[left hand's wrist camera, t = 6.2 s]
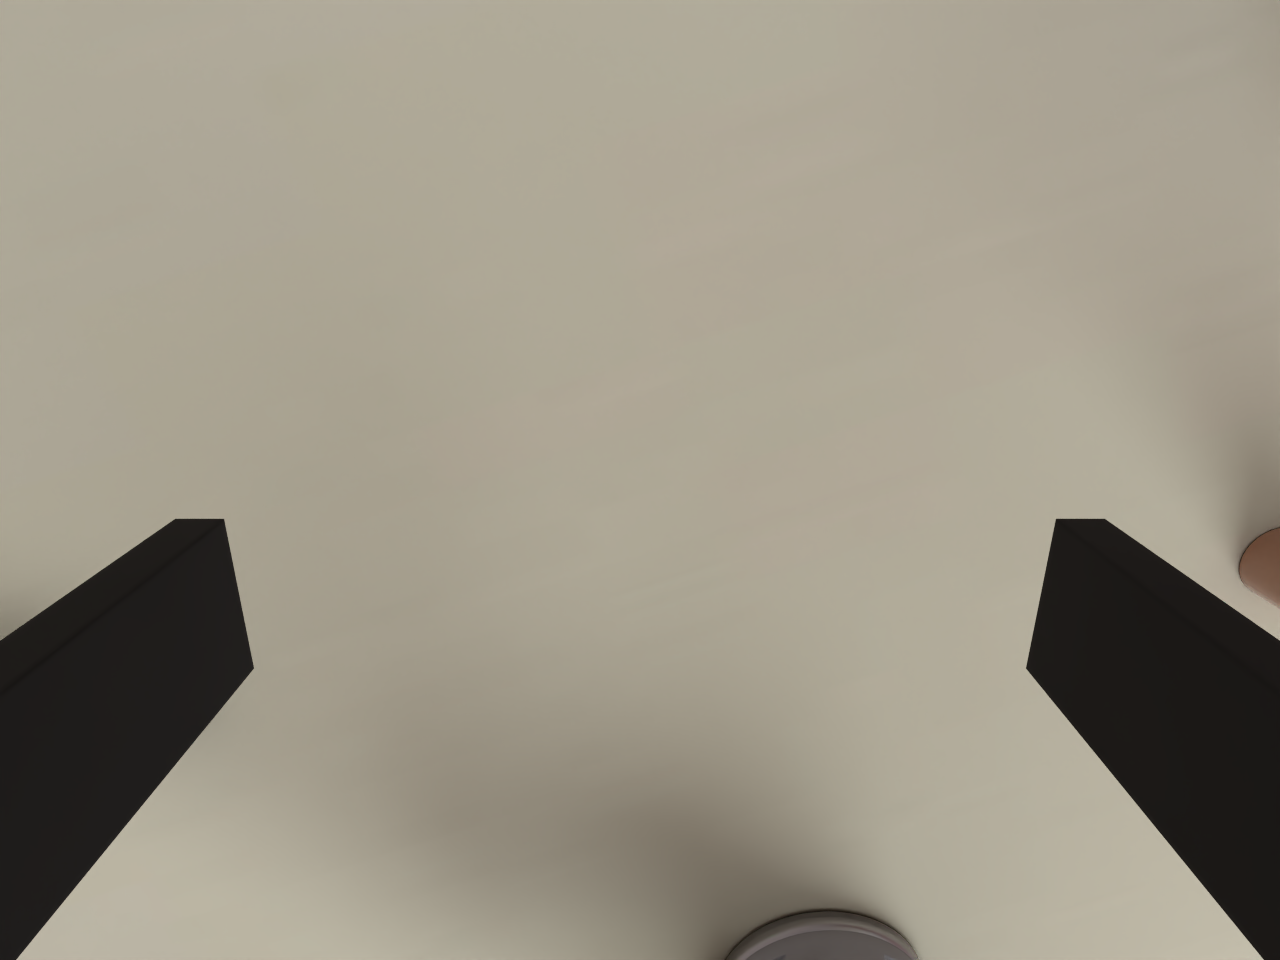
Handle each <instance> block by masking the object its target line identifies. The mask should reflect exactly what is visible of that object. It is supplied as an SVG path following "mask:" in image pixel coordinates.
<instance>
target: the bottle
mask: <svg viewBox="0 0 1280 960" xmlns="http://www.w3.org/2000/svg"><path fill="white" fill-rule="evenodd" d="M1239 573H1240V577H1241V580H1242V582H1243V583H1244V585H1245V586H1246V587H1247V588H1248V589H1249V590H1251V591H1252V592H1254V593H1256V594H1257V595H1259V596H1260V597H1262V598H1263V599H1265V600H1266V601H1268V602H1269V603H1271V604H1273V605H1274V606H1276V607H1277V608H1279V609H1280V528H1278V529H1274V530H1271V531H1269V532H1267V533H1265V534H1263V535H1261V536H1260V537H1258V538H1257V539H1256V540H1255V541H1254V542H1252V543H1251V545H1250V546H1249V547H1248V548H1247V549H1246V551H1245V553H1244V554H1243V556H1242V559H1241V562H1240V567H1239Z"/></svg>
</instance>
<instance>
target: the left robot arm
mask: <svg viewBox="0 0 1280 960" xmlns="http://www.w3.org/2000/svg"><path fill="white" fill-rule="evenodd" d="M253 669H254V666H253V661H252V657H251V652H250V647H249V642H248V637H247V632H246V627H245V622H244V617H243V612H242V607H241V602H240V597H239V592H238V587H237V582H236V577H235V572H234V567H233V562H232V557H231V552H230V547H229V542H228V537H227V532H226V527H225V522H224V519H175V520H173V521H172V522H170V523H169V524H167V525H166V526H164V527H163V528H162V529H160V530H159V531H157V532H156V533H154V534H153V535H152V536H150V537H149V538H147V539H146V540H144V541H143V542H141V543H140V544H139V545H137V546H136V547H134V548H133V549H131V550H130V551H129V552H127V553H126V554H124V555H123V556H121V557H120V558H118V559H117V560H116V561H114V562H113V563H111V564H110V565H108V566H107V567H106V568H104V569H103V570H101V571H100V572H98V573H97V574H95V575H94V576H93V577H91V578H90V579H88V580H87V581H85V582H84V583H83V584H81V585H80V586H78V587H77V588H75V589H74V590H73V591H71V592H70V593H68V594H67V595H65V596H64V597H62V598H61V599H60V600H58V601H57V602H55V603H54V604H52V605H51V606H50V607H48V608H47V609H45V610H44V611H42V612H41V613H39V614H38V615H37V616H35V617H34V618H32V619H31V620H29V621H28V622H27V623H25V624H24V625H22V626H21V627H19V628H18V629H16V630H15V631H14V632H12V633H11V634H9V635H8V636H6V637H5V638H4V639H2V640H1V641H0V960H16V959H17V958H18V957H19V955H20V954H21V953H22V952H23V951H24V949H25V948H26V947H27V946H28V944H29V943H30V942H31V941H32V940H33V938H34V937H35V936H36V935H37V933H38V932H39V931H40V930H41V929H42V927H43V926H44V925H45V924H46V922H47V921H48V920H49V919H50V918H51V916H52V915H53V914H54V913H55V911H56V910H57V909H58V908H59V906H60V905H61V904H62V903H63V902H64V900H65V899H66V898H67V897H68V895H69V894H70V893H71V892H72V891H73V889H74V888H75V887H76V886H77V884H78V883H79V882H80V881H81V880H82V878H83V877H84V876H85V875H86V873H87V872H88V871H89V870H90V869H91V867H92V866H93V865H94V864H95V862H96V861H97V860H98V859H99V857H100V856H101V855H102V854H103V853H104V851H105V850H106V849H107V848H108V846H109V845H110V844H111V843H112V842H113V840H114V839H115V838H116V837H117V835H118V834H119V833H120V832H121V831H122V829H123V828H124V827H125V826H126V824H127V823H128V822H129V821H130V820H131V818H132V817H133V816H134V815H135V813H136V812H137V811H138V810H139V809H140V807H141V806H142V805H143V804H144V802H145V801H146V800H147V799H148V797H149V796H150V795H151V794H152V793H153V791H154V790H155V789H156V788H157V786H158V785H159V784H160V783H161V782H162V780H163V779H164V778H165V777H166V775H167V774H168V773H169V772H170V771H171V769H172V768H173V767H174V766H175V764H176V763H177V762H178V761H179V760H180V758H181V757H182V756H183V755H184V753H185V752H186V751H187V750H188V748H189V747H190V746H191V745H192V744H193V742H194V741H195V740H196V739H197V737H198V736H199V735H200V734H201V733H202V731H203V730H204V729H205V728H206V726H207V725H208V724H209V723H210V722H211V720H212V719H213V718H214V717H215V715H216V714H217V713H218V712H219V711H220V709H221V708H222V707H223V706H224V704H225V703H226V702H227V701H228V699H229V698H230V697H231V696H232V695H233V693H234V692H235V691H236V690H237V688H238V687H239V686H240V685H241V684H242V682H243V681H244V680H245V679H246V677H247V676H248V675H249V674H250V673H251V671H252V670H253ZM1026 669H1027V670H1028V671H1029V673H1030V674H1031V675H1032V676H1033V677H1034V679H1035V680H1036V681H1037V682H1038V684H1039V685H1040V686H1041V687H1042V688H1043V690H1044V691H1045V692H1046V693H1047V695H1048V696H1049V697H1050V698H1051V699H1052V701H1053V702H1054V703H1055V704H1056V706H1057V707H1058V708H1059V709H1060V711H1061V712H1062V713H1063V714H1064V715H1065V717H1066V718H1067V719H1068V720H1069V722H1070V723H1071V724H1072V725H1073V726H1074V728H1075V729H1076V730H1077V731H1078V733H1079V734H1080V735H1081V736H1082V737H1083V739H1084V740H1085V741H1086V742H1087V744H1088V745H1089V746H1090V747H1091V748H1092V750H1093V751H1094V752H1095V753H1096V755H1097V756H1098V757H1099V758H1100V760H1101V761H1102V762H1103V763H1104V764H1105V766H1106V767H1107V768H1108V769H1109V771H1110V772H1111V773H1112V774H1113V775H1114V777H1115V778H1116V779H1117V780H1118V782H1119V783H1120V784H1121V785H1122V786H1123V788H1124V789H1125V790H1126V791H1127V793H1128V794H1129V795H1130V796H1131V797H1132V799H1133V800H1134V801H1135V802H1136V804H1137V805H1138V806H1139V807H1140V809H1141V810H1142V811H1143V812H1144V813H1145V815H1146V816H1147V817H1148V818H1149V820H1150V821H1151V822H1152V823H1153V824H1154V826H1155V827H1156V828H1157V829H1158V831H1159V832H1160V833H1161V834H1162V835H1163V837H1164V838H1165V839H1166V840H1167V842H1168V843H1169V844H1170V845H1171V846H1172V848H1173V849H1174V850H1175V851H1176V853H1177V854H1178V855H1179V856H1180V857H1181V859H1182V860H1183V861H1184V862H1185V864H1186V865H1187V866H1188V867H1189V869H1190V870H1191V871H1192V872H1193V873H1194V875H1195V876H1196V877H1197V878H1198V880H1199V881H1200V882H1201V883H1202V884H1203V886H1204V887H1205V888H1206V889H1207V891H1208V892H1209V893H1210V894H1211V895H1212V897H1213V898H1214V899H1215V900H1216V902H1217V903H1218V904H1219V905H1220V906H1221V908H1222V909H1223V910H1224V911H1225V913H1226V914H1227V915H1228V916H1229V918H1230V919H1231V920H1232V921H1233V922H1234V924H1235V925H1236V926H1237V927H1238V929H1239V930H1240V931H1241V932H1242V933H1243V935H1244V936H1245V937H1246V938H1247V940H1248V941H1249V942H1250V943H1251V944H1252V946H1253V947H1254V948H1255V949H1256V951H1257V952H1258V953H1259V954H1260V955H1261V957H1262V958H1263V959H1264V960H1280V641H1279V640H1278V639H1276V638H1275V637H1274V636H1272V635H1271V634H1269V633H1268V632H1266V631H1265V630H1264V629H1262V628H1261V627H1259V626H1258V625H1256V624H1255V623H1253V622H1252V621H1251V620H1249V619H1248V618H1246V617H1245V616H1243V615H1242V614H1241V613H1239V612H1238V611H1236V610H1235V609H1233V608H1232V607H1230V606H1229V605H1228V604H1226V603H1225V602H1223V601H1222V600H1220V599H1219V598H1218V597H1216V596H1215V595H1213V594H1212V593H1210V592H1209V591H1207V590H1206V589H1205V588H1203V587H1202V586H1200V585H1199V584H1197V583H1196V582H1195V581H1193V580H1192V579H1190V578H1189V577H1187V576H1186V575H1185V574H1183V573H1182V572H1180V571H1179V570H1177V569H1176V568H1174V567H1173V566H1172V565H1170V564H1169V563H1167V562H1166V561H1164V560H1163V559H1162V558H1160V557H1159V556H1157V555H1156V554H1154V553H1153V552H1151V551H1150V550H1149V549H1147V548H1146V547H1144V546H1143V545H1141V544H1140V543H1139V542H1137V541H1136V540H1134V539H1133V538H1131V537H1130V536H1128V535H1127V534H1126V533H1124V532H1123V531H1121V530H1120V529H1118V528H1117V527H1116V526H1114V525H1113V524H1111V523H1110V522H1108V521H1107V520H1105V519H1056V522H1055V527H1054V532H1053V537H1052V542H1051V547H1050V552H1049V557H1048V562H1047V567H1046V572H1045V577H1044V582H1043V587H1042V592H1041V597H1040V602H1039V607H1038V612H1037V617H1036V622H1035V627H1034V632H1033V637H1032V642H1031V647H1030V652H1029V656H1028V661H1027V666H1026ZM726 960H919V959H918V957H917V955H916V953H915V951H914V950H913V948H912V947H911V945H910V944H909V943H908V942H907V941H906V940H905V939H904V938H903V937H902V936H901V935H900V934H899V933H897V932H896V931H895V930H893V929H892V928H890V927H888V926H887V925H885V924H883V923H880V922H878V921H876V920H873V919H871V918H868V917H864V916H861V915H856V914H851V913H844V912H828V911H827V912H811V913H804V914H799V915H794V916H790V917H786V918H783V919H780V920H777V921H775V922H773V923H770V924H768V925H766V926H764V927H762V928H760V929H758V930H757V931H755V932H754V933H752V934H750V935H749V936H748V937H746V938H745V939H744V940H743V941H742V942H740V943H739V944H738V945H737V946H736V947H735V948H734V950H733V951H732V952H731V953H730V954H729V956H728V957H727V959H726Z"/></svg>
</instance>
